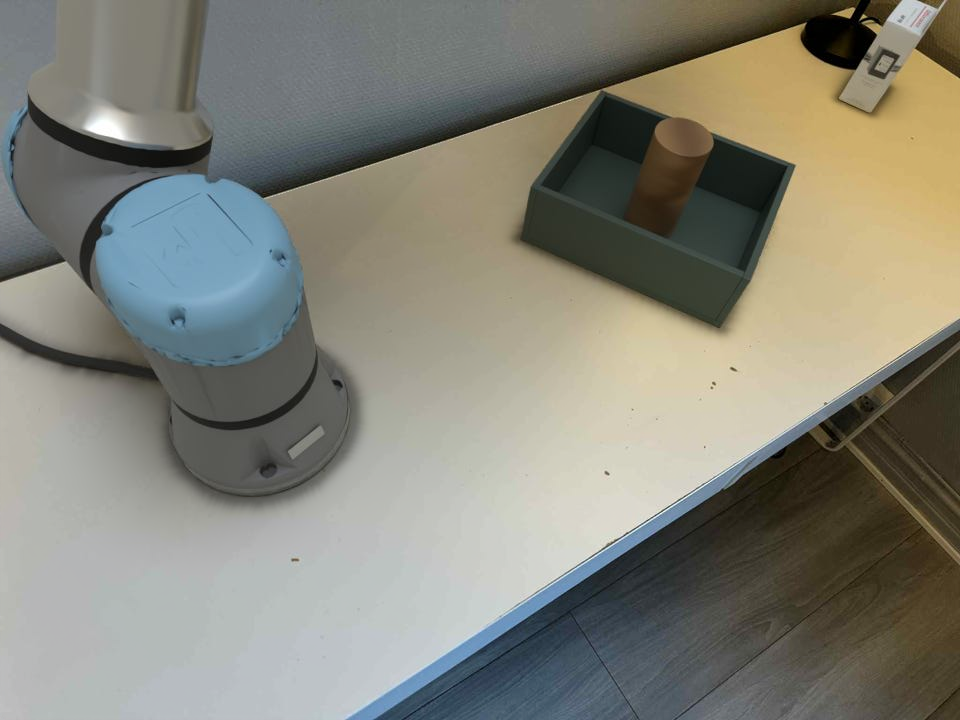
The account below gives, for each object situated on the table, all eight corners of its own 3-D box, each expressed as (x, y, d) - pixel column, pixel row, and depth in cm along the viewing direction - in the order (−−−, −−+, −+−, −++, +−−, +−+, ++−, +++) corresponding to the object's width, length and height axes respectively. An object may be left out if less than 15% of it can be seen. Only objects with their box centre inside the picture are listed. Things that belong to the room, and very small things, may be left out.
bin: (520, 239, 74) (530, 186, 68) (587, 143, 85) (601, 89, 78) (719, 328, 70) (751, 280, 63) (765, 215, 80) (796, 164, 73)
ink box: (856, 73, 99) (919, -30, 86) (888, 87, 97) (957, -15, 85) (836, 99, 94) (900, -5, 82) (869, 114, 93) (939, 11, 81)
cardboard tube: (627, 240, 75) (660, 154, 65) (619, 202, 78) (650, 115, 68) (679, 242, 75) (720, 157, 65) (669, 204, 78) (706, 118, 68)
